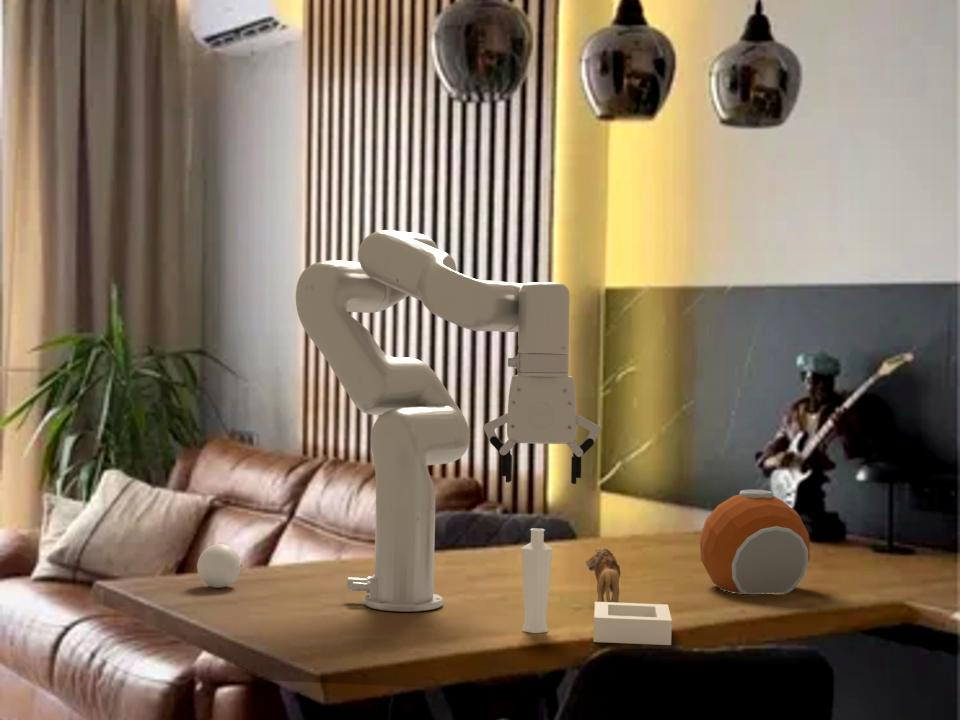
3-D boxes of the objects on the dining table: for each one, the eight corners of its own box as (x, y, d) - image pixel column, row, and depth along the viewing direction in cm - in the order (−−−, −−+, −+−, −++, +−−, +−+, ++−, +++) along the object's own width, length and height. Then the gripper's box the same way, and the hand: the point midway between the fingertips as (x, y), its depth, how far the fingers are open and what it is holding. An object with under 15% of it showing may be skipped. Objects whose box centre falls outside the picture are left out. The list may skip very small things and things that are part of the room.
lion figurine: (583, 600, 231) (584, 545, 231) (614, 600, 231) (616, 546, 231) (599, 618, 216) (601, 560, 216) (633, 618, 217) (634, 560, 216)
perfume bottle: (545, 635, 203) (548, 532, 202) (517, 632, 204) (519, 530, 204) (555, 628, 207) (557, 528, 207) (527, 626, 209) (529, 526, 208)
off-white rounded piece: (242, 591, 231) (243, 547, 231) (196, 591, 230) (197, 547, 230) (240, 580, 241) (241, 538, 241) (196, 581, 240) (197, 538, 240)
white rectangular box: (593, 641, 199) (594, 617, 199) (594, 624, 211) (594, 601, 211) (671, 645, 198) (671, 620, 198) (667, 627, 210) (668, 604, 210)
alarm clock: (780, 579, 255) (783, 485, 255) (826, 597, 238) (829, 496, 238) (683, 581, 250) (685, 485, 250) (722, 600, 233) (725, 497, 233)
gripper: (482, 365, 202) (480, 483, 202) (601, 367, 200) (599, 486, 201) (486, 365, 209) (484, 478, 210) (602, 367, 208) (600, 481, 208)
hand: (541, 482), depth 205 cm, fingers open, 9 cm apart
